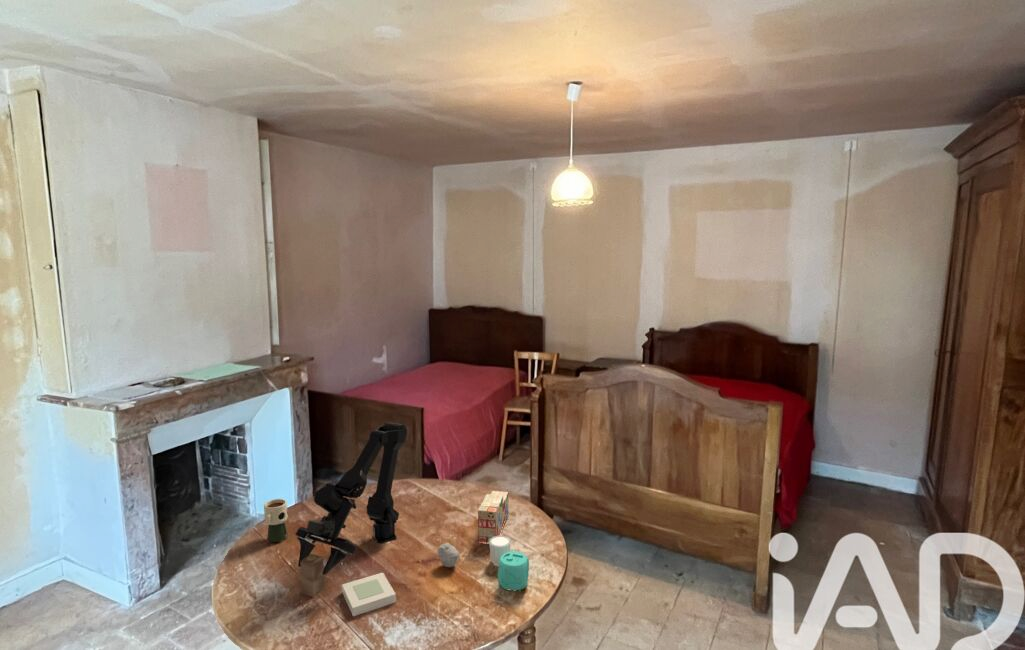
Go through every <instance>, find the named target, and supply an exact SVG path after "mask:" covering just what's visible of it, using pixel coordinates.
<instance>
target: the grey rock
mask: <svg viewBox="0 0 1025 650" xmlns="http://www.w3.org/2000/svg"><path fill="white" fill-rule="evenodd" d="M437 556H438V558H439V560H440V561H441V563H442V565H443V566H444V567H446V568H452V567H454V566H455V565H456V563H457V562H458V559H459V558H460V553H459V551H458V549H456V547H455V546H453V545H452V544H451V543H449V542H445V543H443V544H441V545H439V546H438V548H437Z"/></svg>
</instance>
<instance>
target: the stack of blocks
mask: <svg viewBox="0 0 1025 650" xmlns="http://www.w3.org/2000/svg"><path fill="white" fill-rule="evenodd" d="M508 514H509V492H508V491H497V490H496V491H495V490H492V491H491V493H490V494H489V493H486V494H485V496H484V498H483V501H482V502H481V504H480V506H479V507H478V509H477V527H478V528H477V529H478V530H477V531H478V535H477V540H478V541H477V543H478V542H486V543H487V542H489V540H490V539H491V538H492V537H495V536H499V535H500V533H501V530H502V527H503V524H504V521H505V520H506V518H507V515H508ZM508 516H509V515H508ZM507 519H508V518H507ZM506 521H507V520H506ZM504 525H505V524H504ZM503 528H504V527H503ZM502 531H503V530H502ZM501 534H502V533H501ZM500 536H501V535H500Z"/></svg>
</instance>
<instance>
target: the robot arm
mask: <svg viewBox="0 0 1025 650" xmlns="http://www.w3.org/2000/svg"><path fill="white" fill-rule="evenodd" d="M407 436H408V429H407V428H406V426H405V424H401V423H396V422H390V421H388V422H386V423H385V424H384V425H380V426H378V427H377V428H376V429H373V430H372V431H371V432H370V434H369V438H368V440H367V442H366V443H365V446H364V447H363V449H362V451H361V452H360V455H359V456H358V458H357V459H356V461H355V463H354V465H353V466H352V468H350V469H349V470H347V471H346V472H345V473H344V474H343V475H342V477H341V478H340V479H339V481H338V482H336V483H335V484H332V483H329V482H327V483H326V484H325V486H323V487H321V488H319V489H318V490H317V491H316V492H315V494H314V497H313V502H314V504H315V505H317V506H318V507H320V508H321V509H323V510H324V511H326V512H327V514H326V515H323V516H322V517H321V519H320V520H319V519H316V520H314V519H313V520H308V523H307V527H303V526H301V527H299V528H298V529H297V530H296V533H295V536H296V537H297V540H298V542H299V546H300V549H299V550H300V551H299V557H298V564H297V566H298V567H300V568H301V565H300V561H301V560H303V559H304V558H306V557H307V556H309V555H310V554H312V552H313V550H314V548H315V547H316V545H315V543H317V542H318V543H322V544H324V545H328V546H331V547H330V554H329V556H328V559H327V561H326V563H325V565H324V570H323V573H322V574H324V576H326V575H327V574H328V573H329V572H330V571H331V570H333V568H334V567H335V566H337V565H338V564H339V563H340V562H341V561H342V560H343V559H344V558H348V557H349V555H351V556H353V555H354V553H355V551H356V544H355V543H353V542H352V541H350V540H348V539H346V538H342V537H339V535H340V534H341V532H342V530H345V529H346V527H347V525H346V524H345V523H346V521H347V519H348V516H349V514H350V512H351V510H352V509H354V510H356V509H357V504H356V500H355V499H358V498H360V497H361V496H363V494H364V491H365V488H366V486H367V483H368V474H369V471H370V470H371V467H372V466H373V465H374V462H375V461H376V459H377V457H378V455H379V453H380V451H381V449H382V447H383V452H382V457H381V463H380V467H379V473H378V479H377V483H376V484H377V485H376V490H375V492H374V493H373V494H372V495H371V496H369V497H368V498H367V505H366V508H365V509H366V514H367V516H368V518H369V521H372V522H373V524H372V536H373V538H374V539H375V540H376V542H377V543H378V544H381V543H384V542H388V541H391V540H395V539H397V535H396V532H395V531H396V529H395V524H397V521H398V520H399V516H400V512H399V511H397V510H395V509H394V505H395V501H394V498H393V496H392V495H393V494H392V489H393V482H394V478H395V477H394V476H395V472H396V466H397V460H398V455H399V451H400V449H401V448H402V447H403V445H404V444H405V441H406V439H407Z"/></svg>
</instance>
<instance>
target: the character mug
mask: <svg viewBox="0 0 1025 650" xmlns="http://www.w3.org/2000/svg"><path fill="white" fill-rule="evenodd" d="M263 510H264V511H263V512H264V521H265V524H266V525H268V527H267V540H268V542H274V543H279V542H282V541H284V540H286V538H287V536H288V531H287V530H288V529H287V526H286V523H285V522H286V521H287V520H288V517H289V516H288V513H287V512H288V503H287V500H286V499H284V498H274V499H271V500H268V501H266V502H265V503H264V504H263Z"/></svg>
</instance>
